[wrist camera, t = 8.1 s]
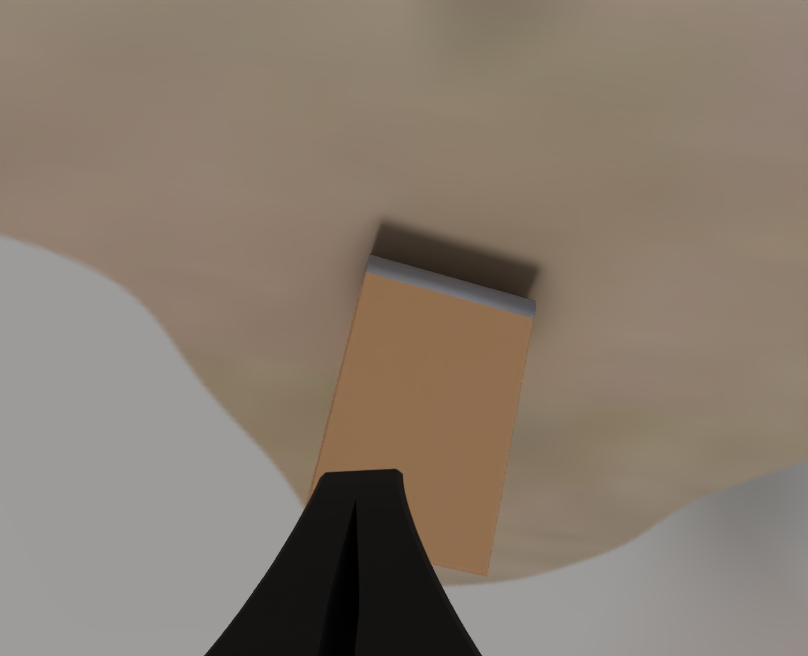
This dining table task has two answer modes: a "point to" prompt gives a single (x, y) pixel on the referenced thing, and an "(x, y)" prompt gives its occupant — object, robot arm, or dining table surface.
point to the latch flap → (432, 401)
